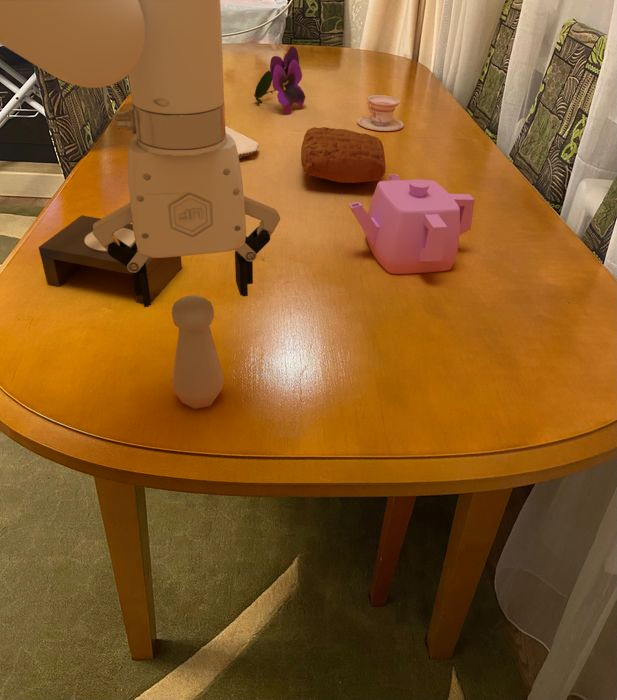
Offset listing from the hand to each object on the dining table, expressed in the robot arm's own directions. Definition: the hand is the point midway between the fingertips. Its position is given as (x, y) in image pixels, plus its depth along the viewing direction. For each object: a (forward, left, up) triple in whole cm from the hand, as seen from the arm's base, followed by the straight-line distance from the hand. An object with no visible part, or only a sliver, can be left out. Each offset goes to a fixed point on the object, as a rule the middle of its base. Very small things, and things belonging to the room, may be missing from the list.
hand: (195, 294), depth 62 cm
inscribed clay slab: (+1, +73, -14) cm, 74 cm away
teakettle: (+18, +44, -14) cm, 49 cm away
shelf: (-22, +21, -14) cm, 34 cm away
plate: (-31, +75, -14) cm, 82 cm away
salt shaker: (0, 0, -14) cm, 14 cm away
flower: (-26, +114, -14) cm, 118 cm away
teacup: (+3, +111, -14) cm, 112 cm away
